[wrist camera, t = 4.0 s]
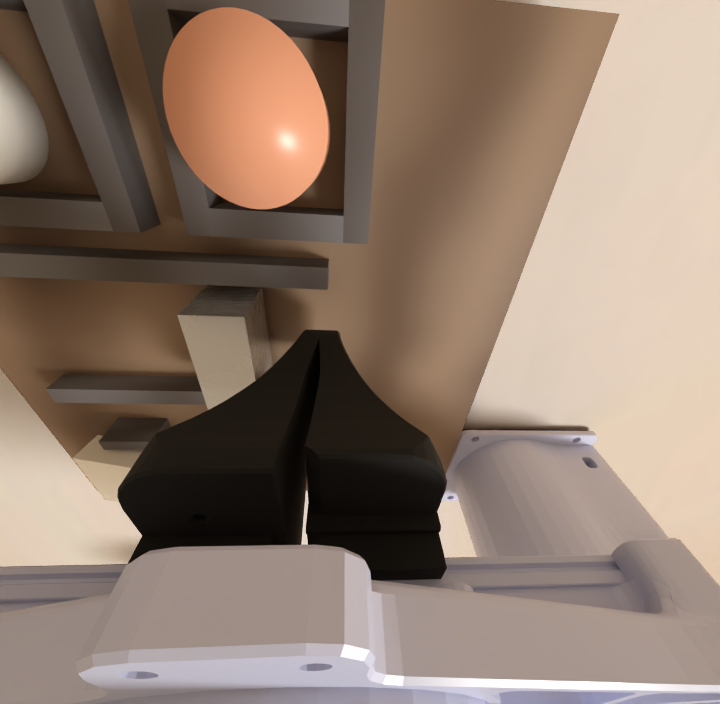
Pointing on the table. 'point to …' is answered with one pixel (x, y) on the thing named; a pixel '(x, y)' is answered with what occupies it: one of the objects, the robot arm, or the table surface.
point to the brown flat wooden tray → (288, 222)
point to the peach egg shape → (245, 108)
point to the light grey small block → (226, 339)
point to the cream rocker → (105, 466)
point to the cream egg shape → (20, 129)
